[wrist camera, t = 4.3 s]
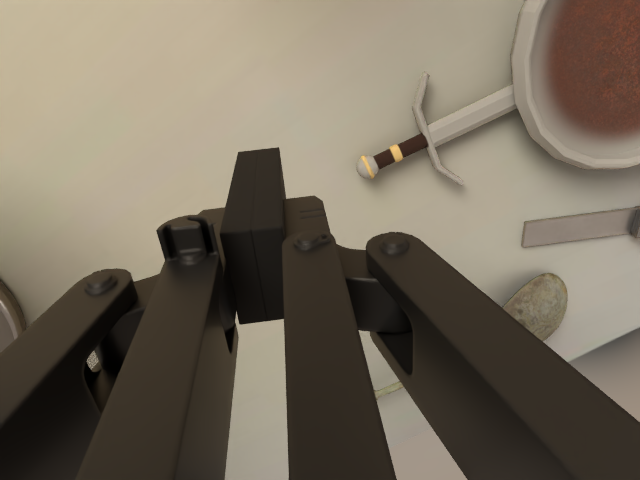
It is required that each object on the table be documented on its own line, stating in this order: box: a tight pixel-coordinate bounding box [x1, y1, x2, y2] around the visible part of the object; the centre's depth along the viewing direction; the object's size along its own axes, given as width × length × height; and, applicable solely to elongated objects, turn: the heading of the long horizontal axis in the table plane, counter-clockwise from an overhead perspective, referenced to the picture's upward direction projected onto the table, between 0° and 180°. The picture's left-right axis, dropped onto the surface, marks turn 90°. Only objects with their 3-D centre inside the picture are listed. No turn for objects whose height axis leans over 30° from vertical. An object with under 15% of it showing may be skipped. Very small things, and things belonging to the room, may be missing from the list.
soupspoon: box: [374, 273, 567, 400], centre depth 39 cm, size 22×3×7 cm
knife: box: [521, 206, 640, 247], centre depth 35 cm, size 18×2×2 cm, turn 95°
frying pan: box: [357, 0, 640, 185], centre depth 29 cm, size 17×3×28 cm
